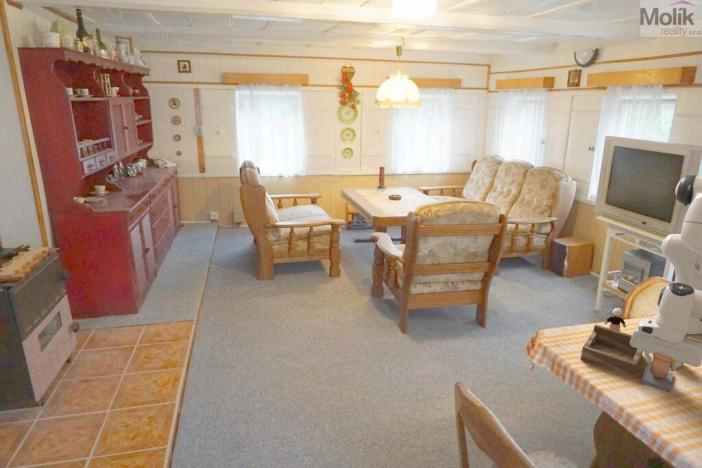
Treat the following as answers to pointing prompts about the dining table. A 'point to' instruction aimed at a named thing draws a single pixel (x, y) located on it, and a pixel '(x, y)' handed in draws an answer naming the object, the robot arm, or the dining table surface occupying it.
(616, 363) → the frame
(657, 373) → the peach drawer knob
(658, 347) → the robot arm
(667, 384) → the slate mat
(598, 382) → the dining table surface
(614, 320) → the grandmother figurine
